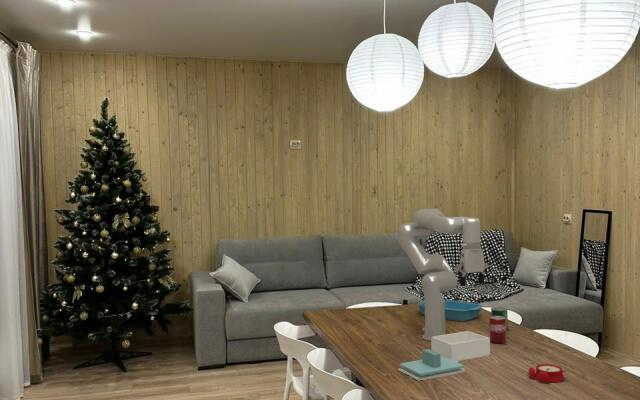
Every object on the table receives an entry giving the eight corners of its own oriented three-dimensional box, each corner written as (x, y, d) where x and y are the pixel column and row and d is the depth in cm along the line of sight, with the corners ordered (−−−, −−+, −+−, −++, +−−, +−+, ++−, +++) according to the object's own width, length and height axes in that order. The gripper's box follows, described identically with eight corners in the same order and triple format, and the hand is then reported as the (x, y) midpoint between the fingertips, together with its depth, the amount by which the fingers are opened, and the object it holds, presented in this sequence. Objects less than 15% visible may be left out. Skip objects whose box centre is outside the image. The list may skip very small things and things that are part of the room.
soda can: (507, 345, 260) (506, 319, 260) (490, 345, 261) (490, 319, 261) (505, 341, 267) (505, 315, 267) (489, 341, 268) (488, 315, 268)
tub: (451, 363, 236) (451, 344, 236) (431, 355, 249) (431, 336, 248) (490, 356, 244) (489, 337, 244) (468, 348, 257) (468, 330, 257)
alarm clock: (572, 370, 213) (542, 367, 207) (570, 387, 213) (540, 384, 207) (551, 362, 223) (521, 359, 217) (548, 378, 222) (519, 376, 216)
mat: (398, 371, 229) (397, 368, 229) (443, 362, 238) (443, 360, 238) (418, 381, 216) (418, 378, 216) (465, 372, 225) (465, 369, 225)
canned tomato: (506, 328, 291) (505, 306, 291) (509, 332, 283) (509, 310, 283) (490, 328, 292) (489, 307, 292) (493, 332, 284) (492, 310, 284)
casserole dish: (410, 315, 328) (410, 303, 327) (433, 308, 343) (432, 296, 343) (468, 325, 301) (467, 311, 301) (489, 317, 317) (489, 304, 317)
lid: (420, 378, 216) (419, 360, 216) (399, 368, 229) (399, 351, 229) (467, 369, 225) (467, 352, 225) (444, 359, 238) (444, 343, 238)
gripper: (460, 248, 246) (460, 288, 246) (493, 245, 252) (493, 284, 253) (450, 246, 253) (450, 285, 253) (482, 244, 259) (482, 281, 260)
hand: (472, 284), depth 253 cm, fingers open, 9 cm apart
